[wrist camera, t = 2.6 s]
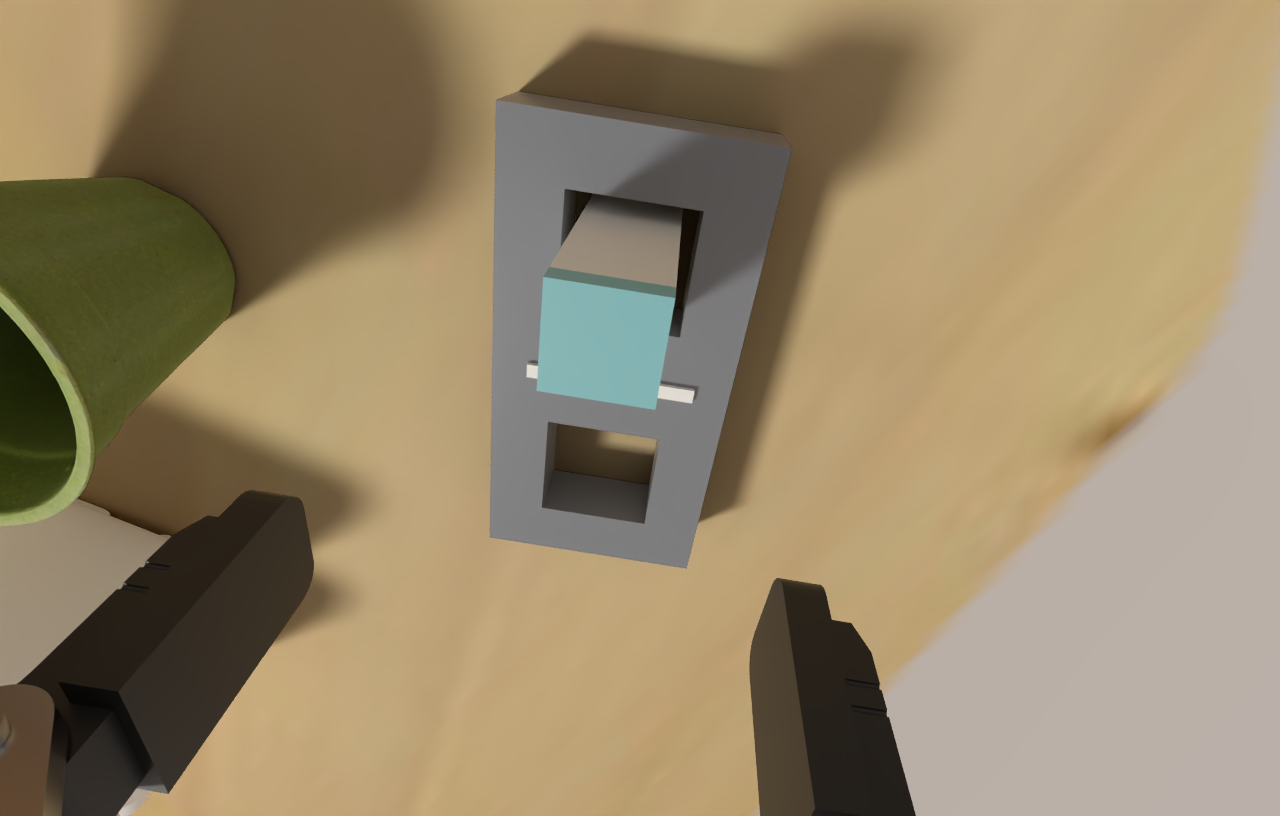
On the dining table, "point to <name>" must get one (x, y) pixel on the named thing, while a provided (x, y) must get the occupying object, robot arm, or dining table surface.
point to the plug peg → (611, 303)
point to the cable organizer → (63, 584)
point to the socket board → (699, 333)
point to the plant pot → (92, 322)
